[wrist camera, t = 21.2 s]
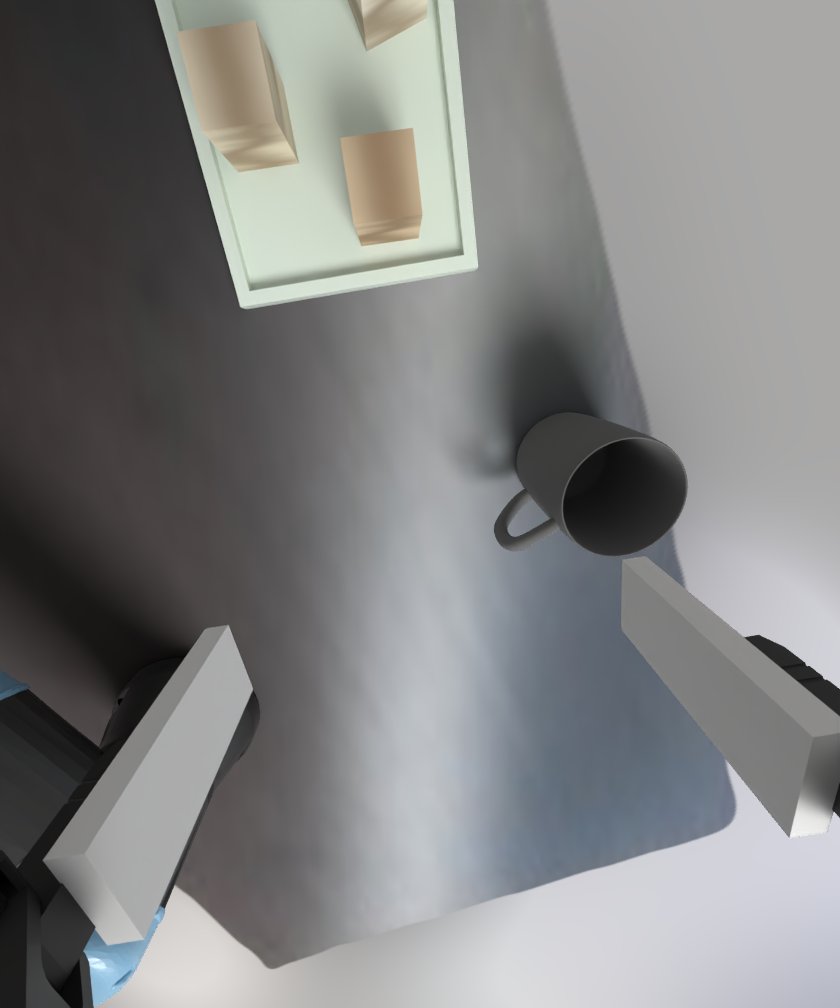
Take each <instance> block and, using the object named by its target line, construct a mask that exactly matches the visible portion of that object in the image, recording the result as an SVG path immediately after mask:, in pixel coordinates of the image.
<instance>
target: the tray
mask: <svg viewBox="0 0 840 1008" xmlns="http://www.w3.org/2000/svg"><path fill="white" fill-rule="evenodd" d="M155 3H156V6H157V10H158V13H159V17H160V21H161V24H162V28H163V31H164V35H165V38H166V42H167V46H168V49H169V53H170V56H171V60H172V63H173V67H174V71H175V74H176V78H177V81H178V85H179V89H180V92H181V96H182V99H183V103H184V106H185V110H186V114H187V117H188V121H189V124H190V128H191V131H192V135H193V139H194V142H195V146H196V149H197V153H198V157H199V160H200V164H201V167H202V171H203V174H204V178H205V182H206V185H207V189H208V192H209V196H210V199H211V203H212V207H213V210H214V214H215V217H216V221H217V225H218V228H219V232H220V235H221V239H222V242H223V246H224V250H225V253H226V257H227V260H228V264H229V267H230V271H231V275H232V278H233V282H234V285H235V289H236V293H237V296H238V300H239V303H240V307H242V308H245V309H251V308H257V307H263V306H269V305H275V304H281V303H287V302H293V301H298V300H304V299H310V298H316V297H322V296H328V295H334V294H340V293H346V292H352V291H358V290H364V289H370V288H376V287H382V286H388V285H394V284H400V283H406V282H412V281H418V280H424V279H429V278H435V277H441V276H447V275H453V274H459V273H465V272H471V271H475V270H476V269H477V268H478V260H477V249H476V238H475V228H474V217H473V206H472V195H471V185H470V174H469V163H468V152H467V142H466V131H465V120H464V109H463V98H462V88H461V77H460V66H459V55H458V45H457V34H456V23H455V12H454V2H453V0H428V6H427V18H426V19H424V20H422V21H420V22H419V23H417V24H415V25H413V26H412V27H410V28H408V29H406V30H404V31H403V32H401V33H399V34H397V35H395V36H394V37H392V38H390V39H388V40H387V41H385V42H383V43H381V44H379V45H378V46H376V47H374V48H372V49H370V50H369V51H366V49H365V46H364V43H363V40H362V38H361V35H360V32H359V29H358V27H357V24H356V21H355V19H354V16H353V13H352V10H351V8H350V5H349V2H348V0H155ZM252 20H256V23H257V25H258V27H259V30H260V32H261V34H262V36H263V39H264V41H265V43H266V46H267V48H268V50H269V53H270V55H271V57H272V59H273V62H274V64H275V66H276V69H277V71H278V73H279V75H280V78H281V80H282V82H283V85H284V89H285V94H286V100H287V105H288V110H289V115H290V120H291V125H292V130H293V135H294V140H295V145H296V150H297V156H298V161H299V163H298V164H292V165H285V166H278V167H272V168H265V169H258V170H251V171H245V172H238V171H237V170H236V169H235V168H234V167H233V166H232V164H231V163H230V162H229V161H228V160H227V159H226V158H225V157H224V156H223V154H222V153H221V152H220V151H219V150H218V149H217V148H216V147H215V146H214V144H213V143H212V142H211V141H210V140H209V139H208V138H207V137H206V136H205V134H204V133H203V132H202V130H201V126H200V122H199V118H198V114H197V111H196V107H195V103H194V99H193V95H192V91H191V87H190V83H189V80H188V76H187V72H186V68H185V64H184V60H183V56H182V52H181V49H180V45H179V41H178V37H177V33H176V32H180V31H186V30H193V29H200V28H206V27H213V26H219V25H226V24H233V23H239V22H246V21H252ZM407 128H413V132H414V141H415V150H416V160H417V169H418V178H419V187H420V196H421V205H422V220H421V227H420V233H419V238H418V239H410V240H403V241H396V242H389V243H382V244H375V245H368V246H361V243H360V240H359V237H358V235H357V232H356V229H355V226H354V223H353V217H352V211H351V204H350V198H349V192H348V186H347V179H346V173H345V167H344V161H343V154H342V148H341V142H340V138H344V137H351V136H358V135H365V134H372V133H379V132H386V131H393V130H400V129H407Z"/></svg>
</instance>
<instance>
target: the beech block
mask: <svg viewBox="0 0 840 1008" xmlns="http://www.w3.org/2000/svg"><path fill="white" fill-rule="evenodd" d="M176 33H177V37H178V41H179V45H180V49H181V52H182V56H183V60H184V64H185V68H186V72H187V76H188V80H189V83H190V87H191V91H192V95H193V99H194V103H195V107H196V111H197V114H198V118H199V122H200V126H201V130H202V132H203V133H204V134H205V136H206V137H207V138H208V139H209V140H210V141H211V142H212V143H213V144H214V146H215V147H216V148H217V149H218V150H219V151H220V152H221V153H222V154H223V156H224V157H225V158H226V159H227V160H228V161H229V162H230V163H231V164H232V166H233V167H234V168H235V169H236V170H237V171H238V172H245V171H251V170H258V169H265V168H272V167H278V166H285V165H292V164H298V163H299V161H298V156H297V150H296V145H295V140H294V135H293V130H292V125H291V120H290V115H289V110H288V105H287V100H286V94H285V89H284V85H283V82H282V80H281V78H280V75H279V73H278V71H277V69H276V66H275V64H274V62H273V59H272V57H271V55H270V53H269V50H268V48H267V46H266V43H265V41H264V39H263V36H262V34H261V32H260V30H259V27H258V25H257V23H256V20H252V21H246V22H239V23H233V24H226V25H219V26H213V27H206V28H200V29H193V30H186V31H180V32H176Z"/></svg>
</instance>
